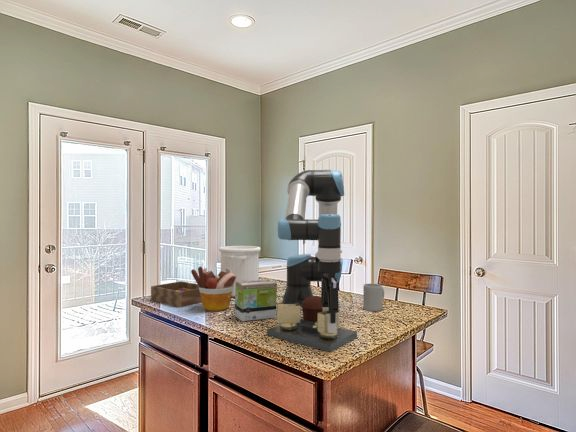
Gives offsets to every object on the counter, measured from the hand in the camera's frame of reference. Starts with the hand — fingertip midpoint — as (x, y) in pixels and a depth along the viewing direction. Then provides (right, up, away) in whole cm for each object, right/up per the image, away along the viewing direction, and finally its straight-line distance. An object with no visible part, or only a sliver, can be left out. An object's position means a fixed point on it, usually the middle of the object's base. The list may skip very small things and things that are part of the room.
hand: (329, 329), depth 124 cm
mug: (+26, -5, +46) cm, 53 cm away
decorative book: (-67, -4, +59) cm, 90 cm away
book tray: (-67, -4, +59) cm, 89 cm away
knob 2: (0, -2, 0) cm, 2 cm away
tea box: (-27, -5, +30) cm, 41 cm away
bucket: (-40, -4, +77) cm, 87 cm away
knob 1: (-14, -2, +9) cm, 16 cm away
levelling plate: (-6, -4, +6) cm, 9 cm away
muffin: (-3, -5, +24) cm, 25 cm away
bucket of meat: (-47, -4, +44) cm, 65 cm away
